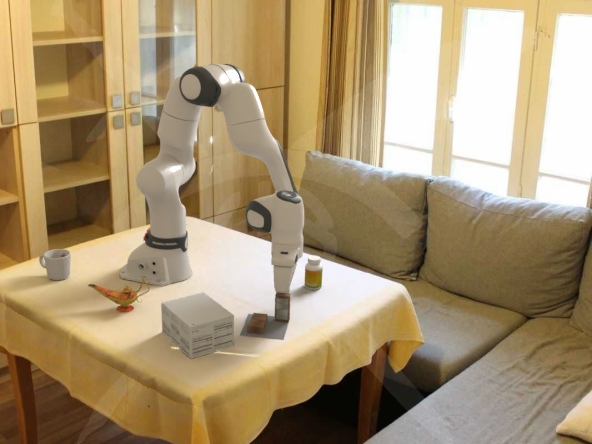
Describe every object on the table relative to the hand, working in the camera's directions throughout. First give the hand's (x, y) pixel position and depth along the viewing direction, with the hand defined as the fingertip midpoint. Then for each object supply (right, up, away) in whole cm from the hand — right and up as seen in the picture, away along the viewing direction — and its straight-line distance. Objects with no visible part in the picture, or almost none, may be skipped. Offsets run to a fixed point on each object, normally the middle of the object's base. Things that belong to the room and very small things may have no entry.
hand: (285, 293), depth 214 cm
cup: (-72, +3, +21) cm, 75 cm away
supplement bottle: (+8, 0, +20) cm, 22 cm away
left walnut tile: (-7, -6, -3) cm, 10 cm away
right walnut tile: (-1, -7, -3) cm, 8 cm away
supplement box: (-23, -11, -14) cm, 29 cm away
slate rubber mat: (-6, -9, -6) cm, 12 cm away
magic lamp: (-48, -4, +2) cm, 48 cm away
